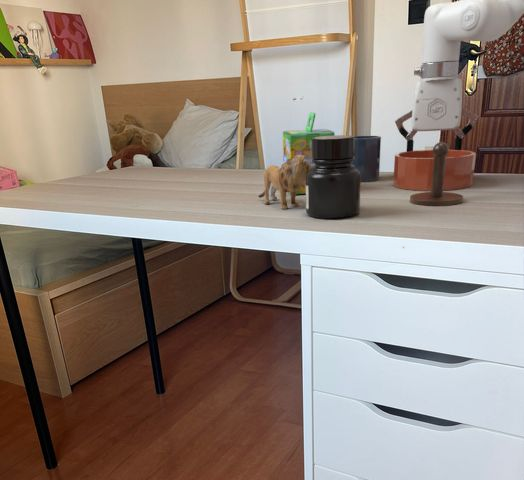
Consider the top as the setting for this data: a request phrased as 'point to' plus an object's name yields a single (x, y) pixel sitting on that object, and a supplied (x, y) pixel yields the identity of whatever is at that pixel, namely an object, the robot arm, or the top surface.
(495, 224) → the top surface
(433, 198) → the holder post
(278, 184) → the lion figurine
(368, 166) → the cup
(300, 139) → the green juice box
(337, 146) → the ink bottle
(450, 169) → the bowl
